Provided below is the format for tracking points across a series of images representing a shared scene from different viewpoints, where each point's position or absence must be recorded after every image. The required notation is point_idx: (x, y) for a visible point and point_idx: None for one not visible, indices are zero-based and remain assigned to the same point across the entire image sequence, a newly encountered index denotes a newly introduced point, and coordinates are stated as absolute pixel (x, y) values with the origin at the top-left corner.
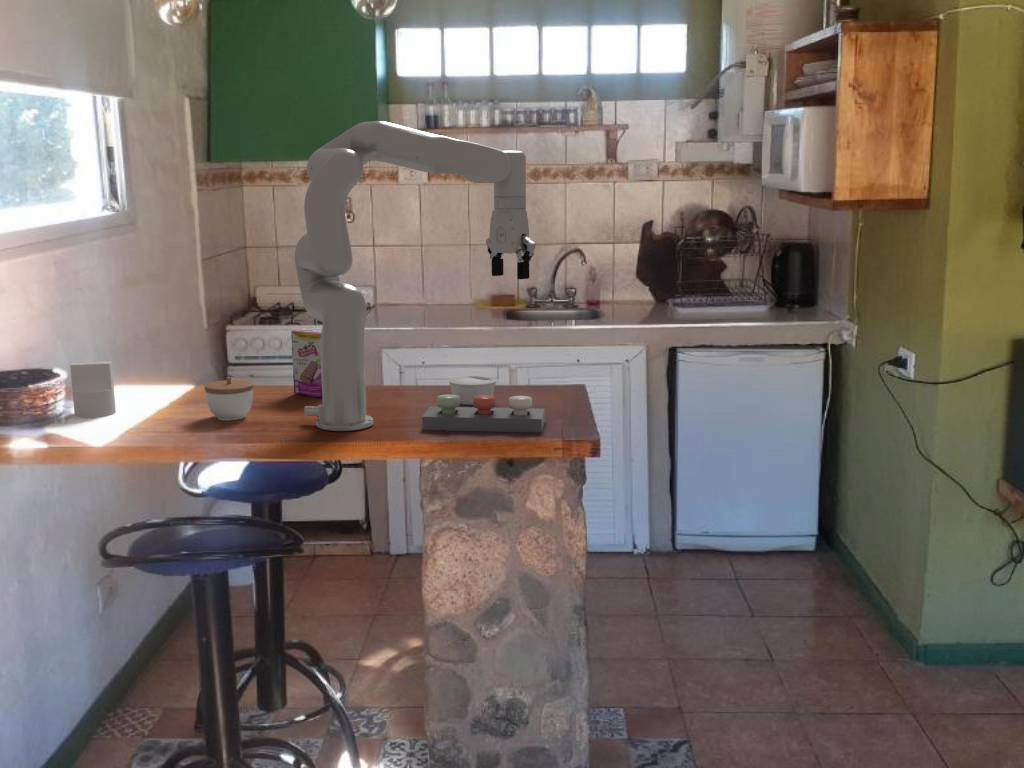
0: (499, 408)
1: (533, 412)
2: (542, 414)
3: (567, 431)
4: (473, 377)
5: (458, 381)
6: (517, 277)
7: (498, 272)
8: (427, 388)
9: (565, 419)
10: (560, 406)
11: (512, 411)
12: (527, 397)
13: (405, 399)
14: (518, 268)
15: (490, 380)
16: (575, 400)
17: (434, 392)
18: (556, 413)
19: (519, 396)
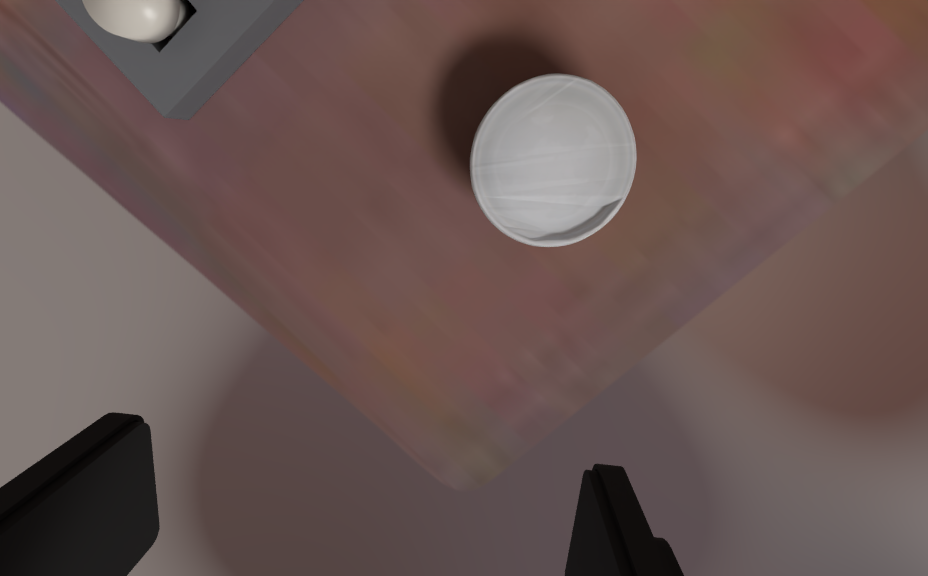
0: (253, 5)
1: (140, 48)
2: (102, 49)
3: (61, 80)
4: (602, 218)
5: (576, 110)
6: (130, 420)
7: (578, 546)
8: (797, 185)
9: (176, 184)
10: (306, 292)
11: (198, 11)
12: (115, 20)
13: (738, 6)
14: (6, 487)
15: (524, 228)
16: (335, 372)
17: (733, 159)
18: (248, 221)
19: (144, 10)
